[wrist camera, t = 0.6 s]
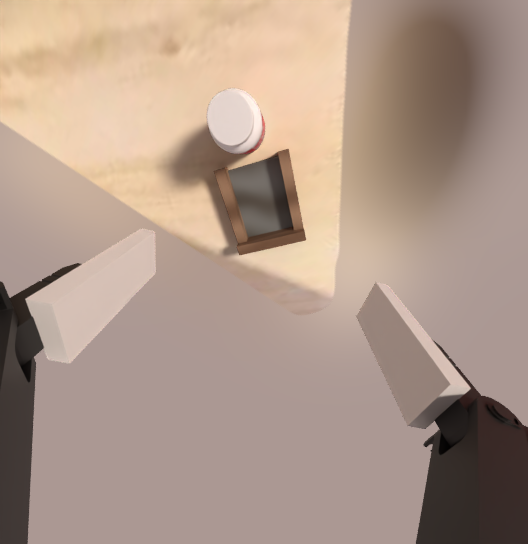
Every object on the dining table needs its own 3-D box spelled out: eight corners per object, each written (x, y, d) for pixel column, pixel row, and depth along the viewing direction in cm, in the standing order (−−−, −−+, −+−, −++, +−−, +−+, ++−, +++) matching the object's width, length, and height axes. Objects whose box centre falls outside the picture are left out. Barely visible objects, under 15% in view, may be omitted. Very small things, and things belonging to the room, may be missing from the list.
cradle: (217, 169, 35) (211, 171, 31) (287, 149, 33) (288, 148, 29) (242, 246, 41) (239, 255, 37) (303, 232, 39) (306, 240, 35)
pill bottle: (262, 156, 34) (257, 157, 24) (222, 151, 34) (199, 150, 24) (268, 105, 31) (263, 83, 21) (223, 100, 31) (198, 75, 21)
